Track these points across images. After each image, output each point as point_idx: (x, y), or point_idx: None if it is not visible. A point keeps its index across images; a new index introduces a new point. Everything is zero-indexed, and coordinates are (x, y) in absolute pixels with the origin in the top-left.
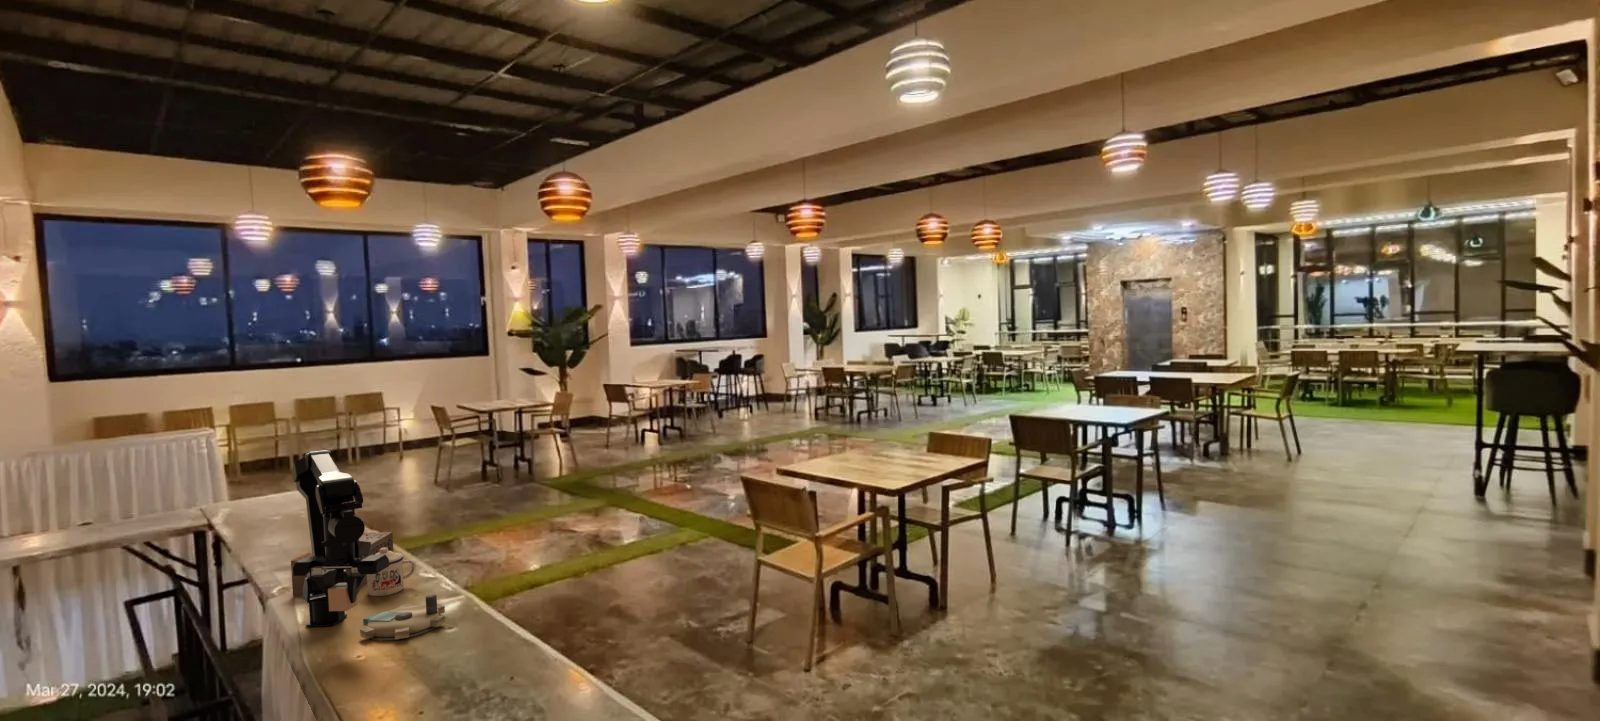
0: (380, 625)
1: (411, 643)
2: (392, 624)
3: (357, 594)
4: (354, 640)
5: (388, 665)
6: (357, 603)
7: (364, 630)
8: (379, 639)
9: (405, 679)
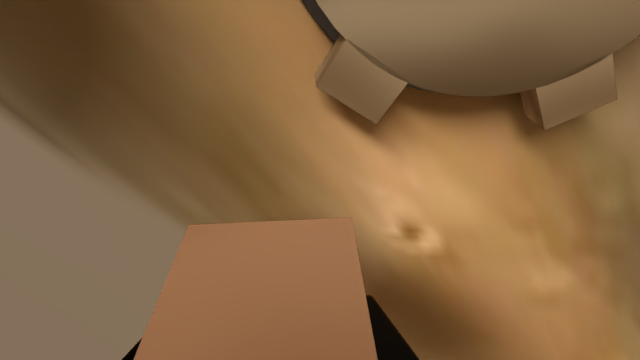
0: (416, 21)
1: (598, 116)
2: (492, 5)
3: (403, 339)
4: (288, 82)
5: (551, 286)
6: (351, 222)
7: (353, 101)
8: (429, 90)
9: (625, 348)
